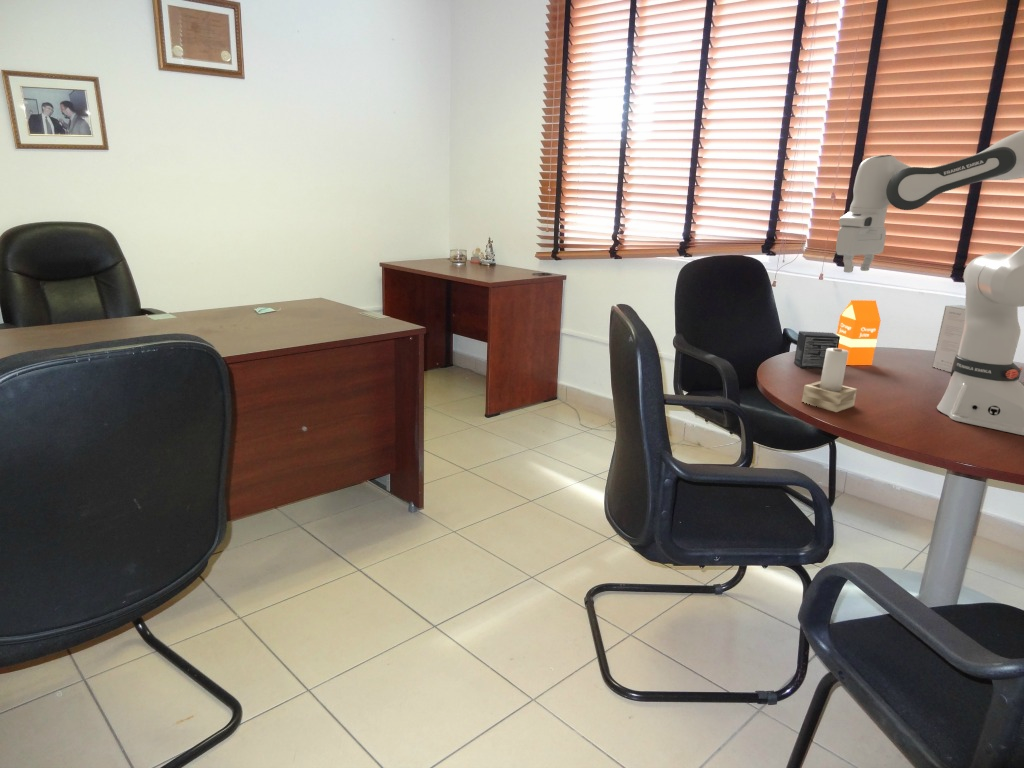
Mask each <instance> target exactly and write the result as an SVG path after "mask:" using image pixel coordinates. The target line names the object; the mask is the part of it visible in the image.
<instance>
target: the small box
mask: <svg viewBox="0 0 1024 768" xmlns="http://www.w3.org/2000/svg"><path fill="white" fill-rule="evenodd" d="M836 334H837V333H834V332H823V331H822V332H821V331H819V332H818V331H805V330H804V331H803V330H799V331H798V335H797V342H796V348H795V355H794V362H793V364H794V365H796V366H797V367H798V368H799V367H800V369H812V368H815V369H816V370H817V369H818V370H823V365H824V360H825V354H826V349H827V348H838V346H839V340H840V336H838V335H836Z"/></svg>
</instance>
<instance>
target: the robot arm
mask: <svg viewBox="0 0 1024 768" xmlns="http://www.w3.org/2000/svg"><path fill="white" fill-rule="evenodd" d="M857 168H858V169H857V172H856V176H855V179H854V184H853V191H852V192H853V198H852V201H851V204H850V205H849V206H850V207H849V211H847V213H845V214H844V215H841V216H840V217H839V219H838V225H839V226H840V227H839V229H838V232H837V237H836V247H835V253H836V255H838V256H843V259H842V260H843V264H844V267H843V272H844V273H847V274H848V273H852V272H853V271H854V267H855V266H854V265H853V260H854V259H855V256H863V258H864V259H863V262H862V263H861V264H860V269H859V270H860V271H864V272H868V271H870V267H871V265H872V262H873V261H874V259H875V255H880V254H882V253H883V252H884V248H885V243H886V234H887V230H886V227H885V221H886V218H887V217H886V216H887V212H888V207H889V206H890V205H892V206H893V208H896V209H898V210H903V211H912V210H913V211H914V210H916V209H919V208H921V207H923V206H924V205H926V204H927V203H928V202H930V201H931V200H932V199H933V198H935V197H936V196H938V195H940V194H943V193H945V192H948V191H949V192H950V191H952V190H956V189H958V188H962V187H966V186H969V185H972V184H975V183H979V182H985V181H1010V180H1018V179H1024V129H1022V130H1019V131H1017V132H1015V133H1011V134H1010V135H1008V136H1005V137H1004V138H1002V139H1000V140H998V141H997V142H994V143H993V144H992V145H990V146H989V147H987V148H985V149H984V150H982V151H980V152H978V153H976V154H974V155H970V156H968V157H967V156H966V157H965V158H961V159H959V160H955V161H952V162H948V163H945V164H942V165H939V166H935V167H934V166H933V167H924V166H923V167H921V166H910V165H907V164H906V163H904V162H902V161H900V160H899V159H898V158H896V157H895V156H894V155H892V154H883V155H881V154H880V155H875V156H871V157H868V158H866V159H864V160H863V161H861V163H860V164H859V166H858V167H857ZM963 271H964V272H963V282H964V284H965V285H964V286H965V305H964V306H965V324H964V330H963V334H962V339H961V343H960V347H959V351H958V355H956V356H955V359H954V361H953V364H952V368H951V372H950V379H949V382H948V385H947V388H946V390H945V392H944V394H943V396H942V398H941V400H940V401H939V403H938V404H937V406H936V408H937V409H936V410H938V411H939V412H941V413H942V414H944V415H946V416H948V417H949V418H950V419H951V420H953V421H954V422H961V423H965V424H969V425H974V426H979V427H982V428H983V427H984V428H988V429H993V430H997V431H1001V432H1007V433H1011V434H1016V435H1019V436H1020V435H1021V436H1024V384H1022V383H1021V382H1020V381H1019V379H1020V376H1021V373H1022V372H1023V371H1022V370H1023V366H1022V367H1021V366H1020V367H1019V366H1018V365H1016V364H1015V363H1014V358H1015V355H1016V351H1017V347H1018V345H1019V344H1018V343H1019V340H1020V336H1021V332H1022V331H1021V326H1020V323H1019V316H1018V314H1019V313H1018V312H1019V311H1018V307H1019V308H1021V307H1024V244H1023V245H1021V247H1020V248H1019V249H1018V250H1016V251H1014V252H1011V253H1010V254H1006V253H1001V252H991V253H988V254H986V253H985V254H982V255H980V256H977V257H975V258H973V259H971V261H970V262H969V263H968V264H967V265H966V267H965V269H964V270H963Z"/></svg>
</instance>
